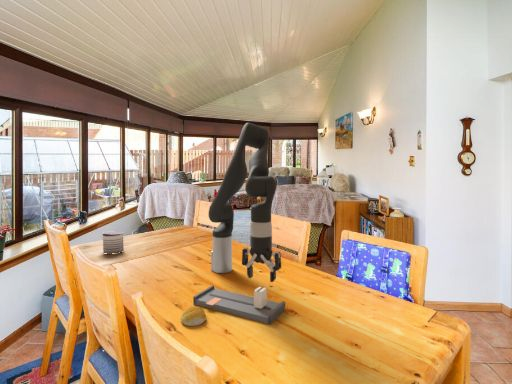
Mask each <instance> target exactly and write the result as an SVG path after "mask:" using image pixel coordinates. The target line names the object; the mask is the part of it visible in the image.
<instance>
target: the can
mask: <svg viewBox="0 0 512 384" xmlns="http://www.w3.org/2000/svg"><path fill="white" fill-rule="evenodd" d="M102 248H103V249H102V251H103V253H107V254H112V253H119V252H122V251H124V252H125V249H124V232H123V231H116V230H113V231H103V232H102ZM122 253H123V252H122Z"/></svg>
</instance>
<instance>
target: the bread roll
mask: <svg viewBox="0 0 512 384" xmlns="http://www.w3.org/2000/svg"><path fill="white" fill-rule="evenodd" d="M206 319H207V315H206V312H205V310H204V309H203V308H201V306H198V305H196V306H194V305H193V306H189V307H188V308H185V309H184V310H183V312H182V313H181V315H180V321H181V323H182V324H183V325H185V326H188V327H194V326H199V325H200V326H201V325H202V324H203V323H204V322H205V321H206Z"/></svg>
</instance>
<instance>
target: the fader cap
mask: <svg viewBox="0 0 512 384" xmlns="http://www.w3.org/2000/svg"><path fill="white" fill-rule="evenodd" d="M267 289H268V288H267V287H264V286H258V287H257V288H255V289H254V291H253V297H254V307H256V308H260V309H262V308H263V307H264V306H265V305H266V304H267V300H268V299H267V298H268V296H267V293H268V290H267Z"/></svg>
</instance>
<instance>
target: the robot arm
mask: <svg viewBox="0 0 512 384" xmlns="http://www.w3.org/2000/svg"><path fill="white" fill-rule="evenodd" d="M269 133H270V132H269V131H268V129H267V128H265V127H264V126H260V125H257V124H255V123H252V122H246V123H245V124H244V125H243V127H242V129H241V132H240V134H239V137H238V140H237V144H236V146H235V149H234V152H233V155H232V157H231V160H230V161H229V164H228V167H227V168H226V171H225V174H224V176H223V179H222V182H221V184H220V186H219V188H218V191H217V193H216V194H215V196H214V198H213V200H212V202H211V204H210V206H209V208H208V218H209V220H210V222H212V223H215V224H216V223H218V224H219V225H218V226H217V227H215V228H214V229H213V230H212V250H211V251H210V264H211V265H210V267H211V268H210V269H211V270H210V271H213V272H214V273H215V274H226V273H231V272H232V271H233V252H232V251H233V241H232V240H233V237H232V236H233V235H232V234H233V231H234V220H235V219H234V218H235V214H234V206H233V205H232V203H230V202H229V201H230V199H231V198H233V197H234V196H235V195H236V194H238V192H239V191H240V190H241V189H242V187H243V186H244V185H245V192H246V194H247V195H248V197H251V198H265V199H264V200H263V201H262V202H259V203H254V204H252V205H251V206H250V228H249V234H250V235H249V239H250V242H249V244H250V246H249V247H250V248H249V247H244V248H243V249H242V252H241V265H242V266H245V267H246V275H247V277H248V279H252V278H253V276H254V267H253V265H255V263H257V264H258V263H260V264H263V265H265V266H266V267H267V268H268V269H269V270H270V271H269V277H270V278H269V281H270V282H269V283H273V282H274V281H275V280H276V279H277V272H278V271H279V270H281V269H282V256H281V251H274V252H273V250H272V249H273V227H272V226H273V225H272V207H273V201H274V198H275V194H276V190H277V181H276V179H275V178H274V177H273V176H269V174H270V170H269V169H270V168H269V162H268V153H269V144H270V143H269V142H270V134H269ZM246 146H247V147H249V148H253V149H257V150H256V151H255V152H254V153H253V154H252V155H250V157H249V160H248V167H249V169H248V168H247V163H246V160H245V148H246ZM248 170H249V172H248ZM248 173H249V174H248ZM249 255H250V256H251V258H250V259H249ZM272 257H273V259H274V260H273V259H272Z"/></svg>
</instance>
